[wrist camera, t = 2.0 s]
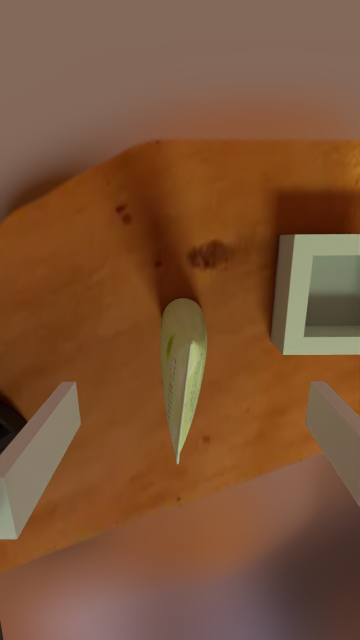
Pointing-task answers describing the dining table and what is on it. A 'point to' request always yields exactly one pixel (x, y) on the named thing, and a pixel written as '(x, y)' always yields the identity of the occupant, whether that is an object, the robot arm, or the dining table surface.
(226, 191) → the dining table surface
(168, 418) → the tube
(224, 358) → the dining table surface
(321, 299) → the socket block
